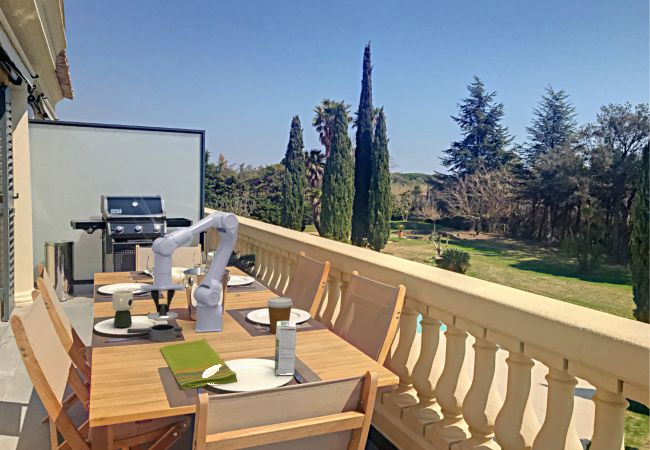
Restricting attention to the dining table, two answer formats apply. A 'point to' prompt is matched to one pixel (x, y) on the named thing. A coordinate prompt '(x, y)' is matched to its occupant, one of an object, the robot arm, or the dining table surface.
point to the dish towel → (196, 364)
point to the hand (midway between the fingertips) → (162, 311)
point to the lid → (162, 314)
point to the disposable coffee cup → (278, 311)
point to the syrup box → (285, 347)
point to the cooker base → (158, 332)
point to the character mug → (122, 307)
